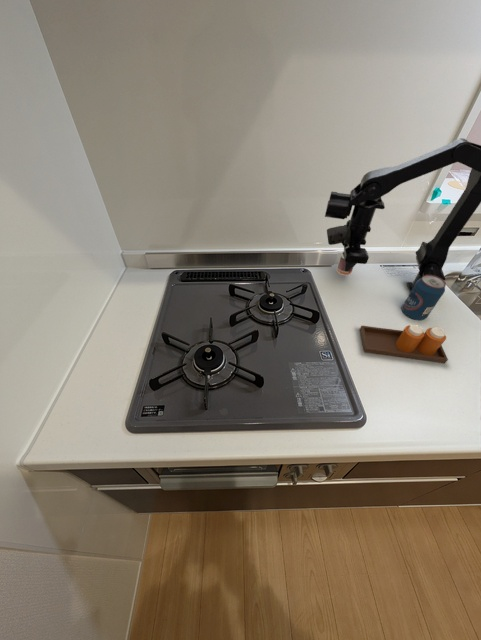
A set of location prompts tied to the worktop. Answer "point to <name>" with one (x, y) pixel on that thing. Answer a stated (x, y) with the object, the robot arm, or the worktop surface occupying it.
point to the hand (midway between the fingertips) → (345, 266)
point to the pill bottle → (343, 266)
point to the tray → (393, 345)
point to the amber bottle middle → (410, 338)
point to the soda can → (423, 297)
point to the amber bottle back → (431, 341)
